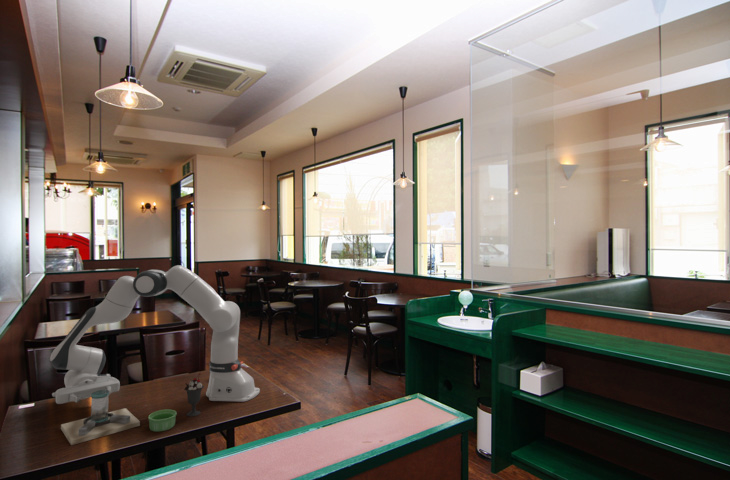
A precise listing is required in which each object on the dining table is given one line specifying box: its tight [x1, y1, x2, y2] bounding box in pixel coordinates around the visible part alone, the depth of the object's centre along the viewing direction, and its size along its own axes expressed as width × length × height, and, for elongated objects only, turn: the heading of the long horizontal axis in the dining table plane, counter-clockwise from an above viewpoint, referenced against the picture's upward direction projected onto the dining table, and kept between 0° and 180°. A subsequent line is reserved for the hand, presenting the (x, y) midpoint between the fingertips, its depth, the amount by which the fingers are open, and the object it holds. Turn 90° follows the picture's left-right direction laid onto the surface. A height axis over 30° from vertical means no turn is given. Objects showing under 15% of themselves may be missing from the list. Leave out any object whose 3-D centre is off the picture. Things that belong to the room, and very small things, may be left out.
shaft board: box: [60, 408, 141, 446], centre depth 142 cm, size 20×16×4 cm
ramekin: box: [147, 408, 177, 432], centre depth 143 cm, size 9×9×4 cm
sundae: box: [183, 373, 205, 418], centre depth 154 cm, size 7×7×15 cm
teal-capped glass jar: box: [90, 390, 110, 423], centre depth 143 cm, size 5×5×10 cm
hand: (93, 396), depth 148 cm, fingers open, 8 cm apart
